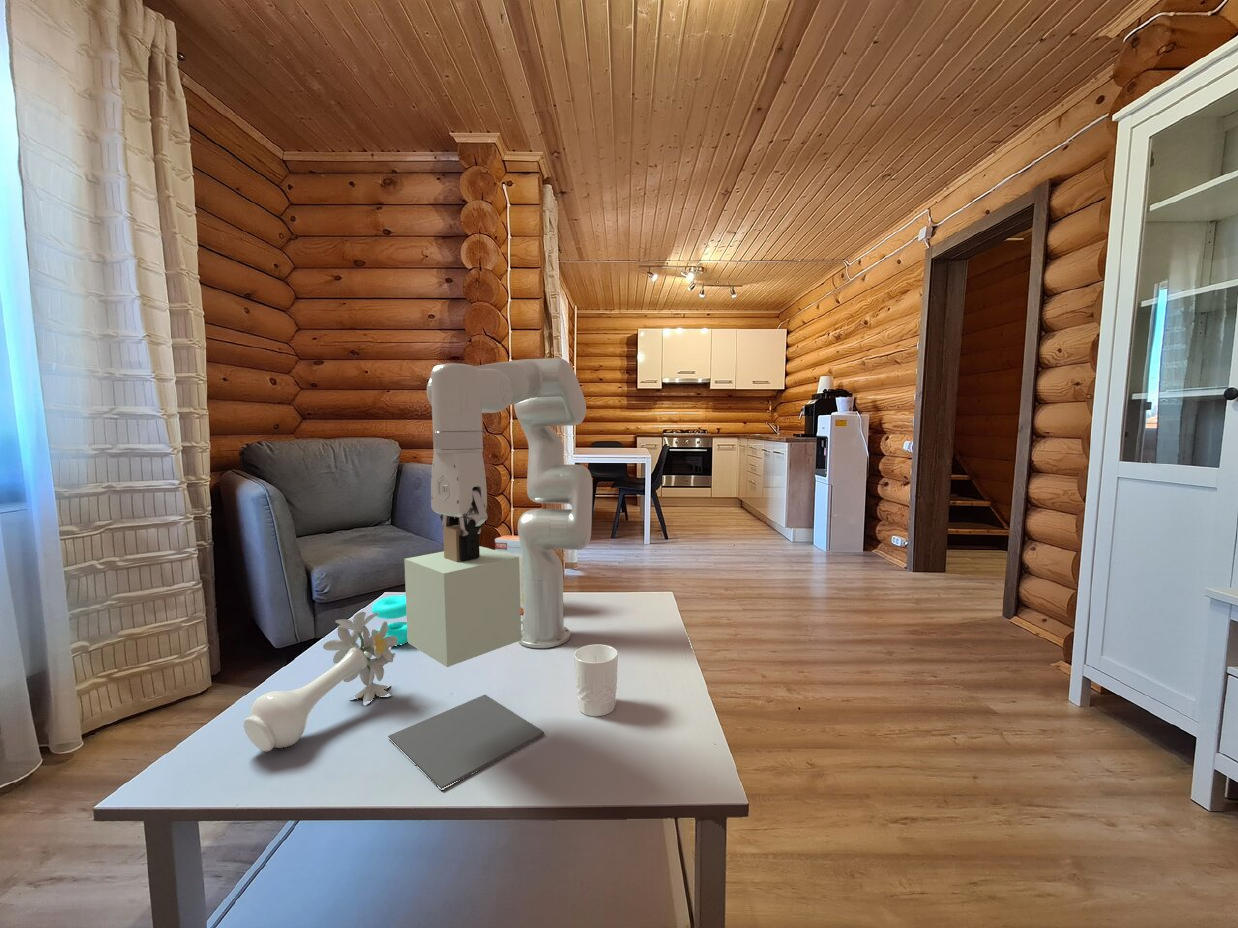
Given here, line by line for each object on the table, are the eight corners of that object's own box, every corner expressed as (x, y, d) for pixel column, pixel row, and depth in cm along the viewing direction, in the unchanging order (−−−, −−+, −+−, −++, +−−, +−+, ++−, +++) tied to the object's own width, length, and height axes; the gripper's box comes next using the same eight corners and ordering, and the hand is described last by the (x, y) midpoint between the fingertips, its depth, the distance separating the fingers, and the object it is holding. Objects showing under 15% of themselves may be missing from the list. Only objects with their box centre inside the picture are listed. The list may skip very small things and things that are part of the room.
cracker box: (549, 610, 144) (548, 537, 142) (537, 618, 138) (535, 541, 137) (509, 604, 150) (507, 533, 148) (495, 611, 144) (493, 537, 143)
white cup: (613, 720, 88) (612, 664, 88) (569, 716, 90) (568, 660, 89) (622, 697, 96) (621, 645, 95) (581, 693, 98) (580, 642, 97)
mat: (388, 739, 84) (388, 735, 84) (485, 697, 97) (485, 694, 97) (441, 791, 71) (441, 787, 71) (544, 735, 84) (544, 731, 84)
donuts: (413, 591, 130) (419, 602, 122) (414, 629, 131) (421, 643, 122) (369, 598, 125) (373, 609, 117) (371, 637, 126) (375, 652, 117)
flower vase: (295, 797, 80) (413, 687, 102) (272, 708, 73) (404, 610, 95) (240, 764, 85) (365, 665, 106) (214, 677, 78) (353, 591, 100)
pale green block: (407, 642, 83) (403, 528, 82) (478, 620, 92) (475, 517, 91) (447, 667, 74) (442, 538, 73) (521, 640, 83) (518, 525, 82)
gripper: (411, 443, 84) (415, 553, 85) (464, 444, 73) (468, 571, 74) (453, 442, 90) (457, 545, 91) (508, 443, 78) (511, 561, 79)
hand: (462, 555), depth 82 cm, fingers closed on pale green block, 4 cm apart
